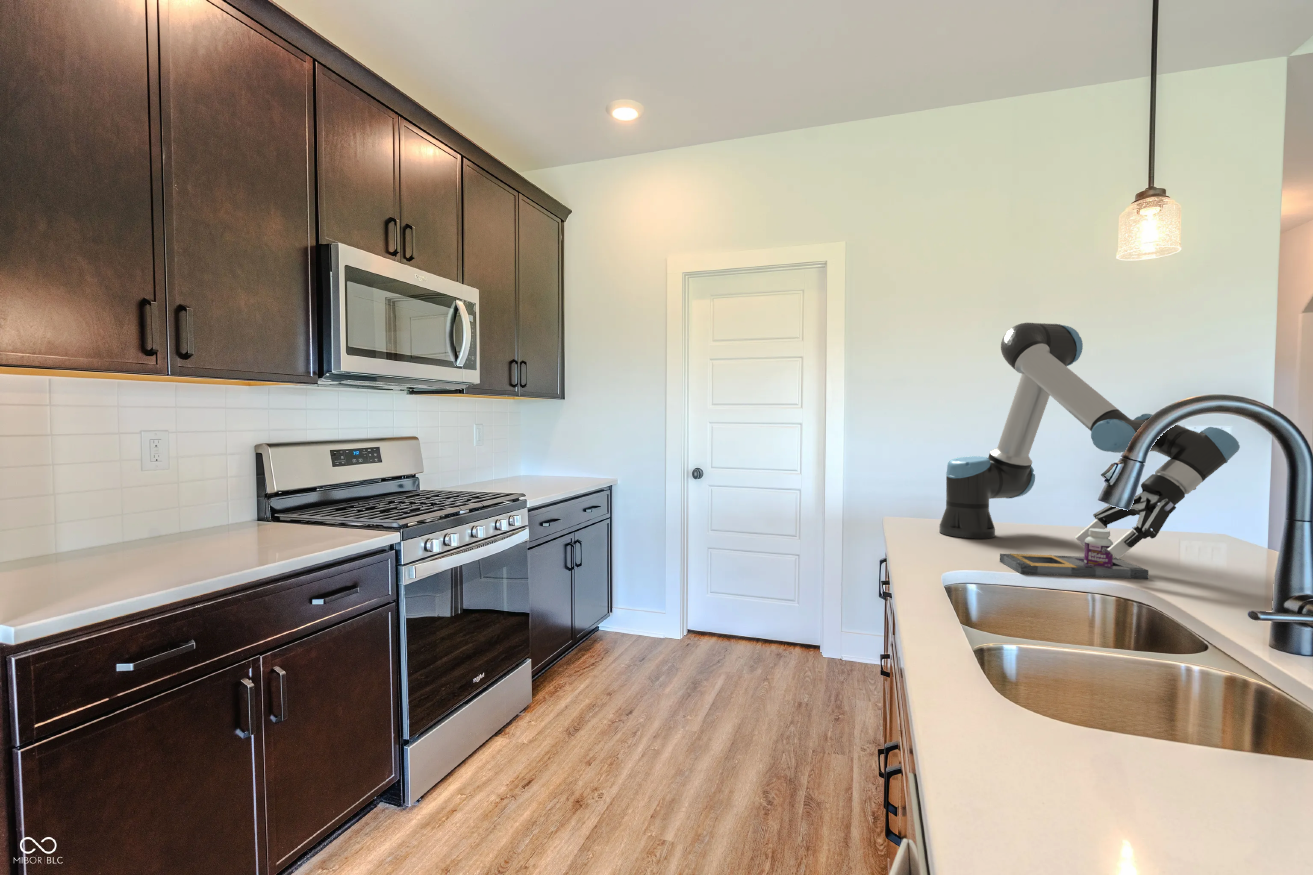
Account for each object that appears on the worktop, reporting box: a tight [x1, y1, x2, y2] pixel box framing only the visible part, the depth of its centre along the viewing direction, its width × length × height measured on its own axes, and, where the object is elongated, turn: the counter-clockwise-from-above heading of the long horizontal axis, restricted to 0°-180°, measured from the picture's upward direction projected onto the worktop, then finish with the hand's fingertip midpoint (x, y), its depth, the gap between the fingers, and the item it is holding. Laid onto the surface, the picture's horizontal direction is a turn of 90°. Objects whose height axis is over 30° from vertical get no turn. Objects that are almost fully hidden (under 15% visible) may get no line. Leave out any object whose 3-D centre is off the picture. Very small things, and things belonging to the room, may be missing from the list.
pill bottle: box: [1083, 529, 1114, 566], centre depth 141 cm, size 5×5×10 cm
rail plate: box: [999, 553, 1149, 580], centre depth 142 cm, size 12×26×2 cm, turn 81°
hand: (1095, 547), depth 141 cm, fingers open, 13 cm apart
